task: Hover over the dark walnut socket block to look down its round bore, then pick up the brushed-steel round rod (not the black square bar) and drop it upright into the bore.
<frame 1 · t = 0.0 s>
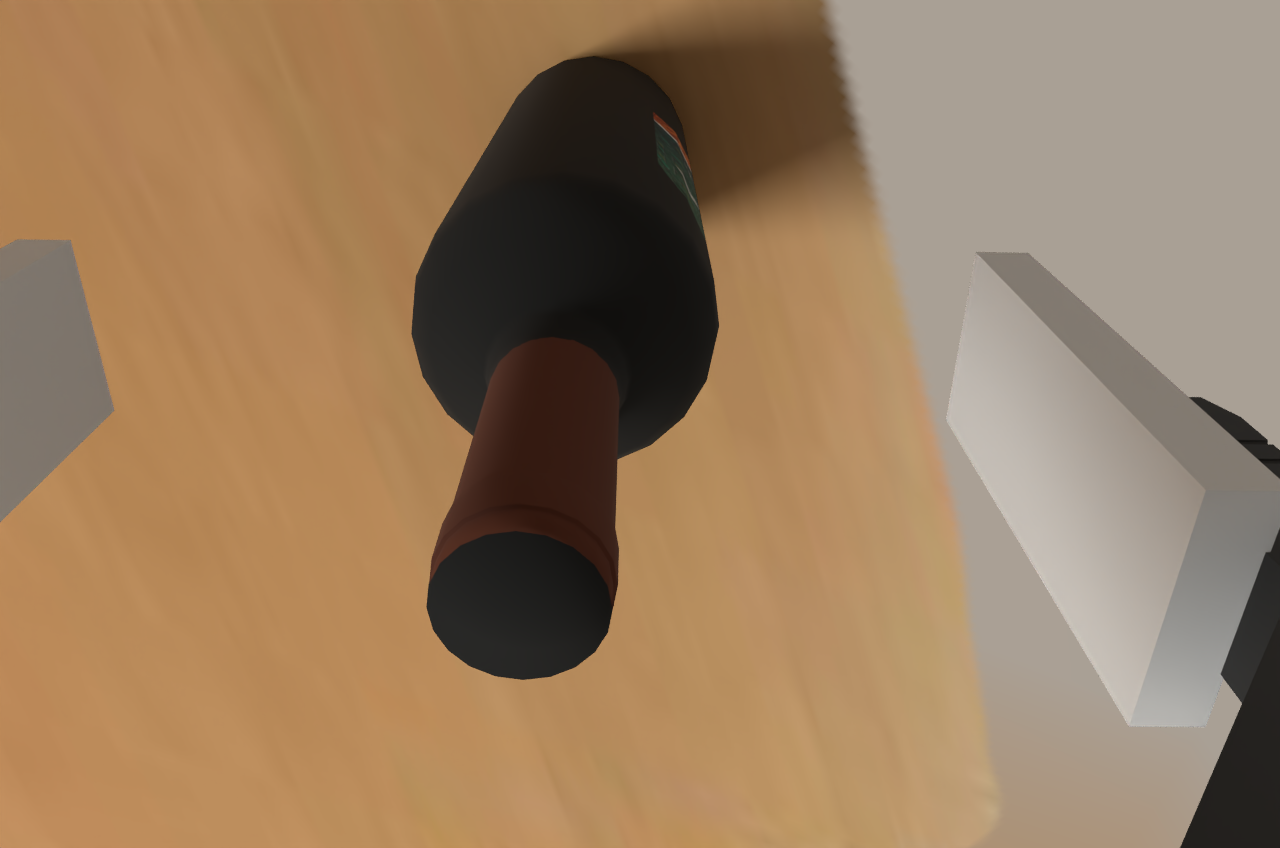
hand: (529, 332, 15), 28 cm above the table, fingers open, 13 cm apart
wine bottle: (594, 151, 42), on the table
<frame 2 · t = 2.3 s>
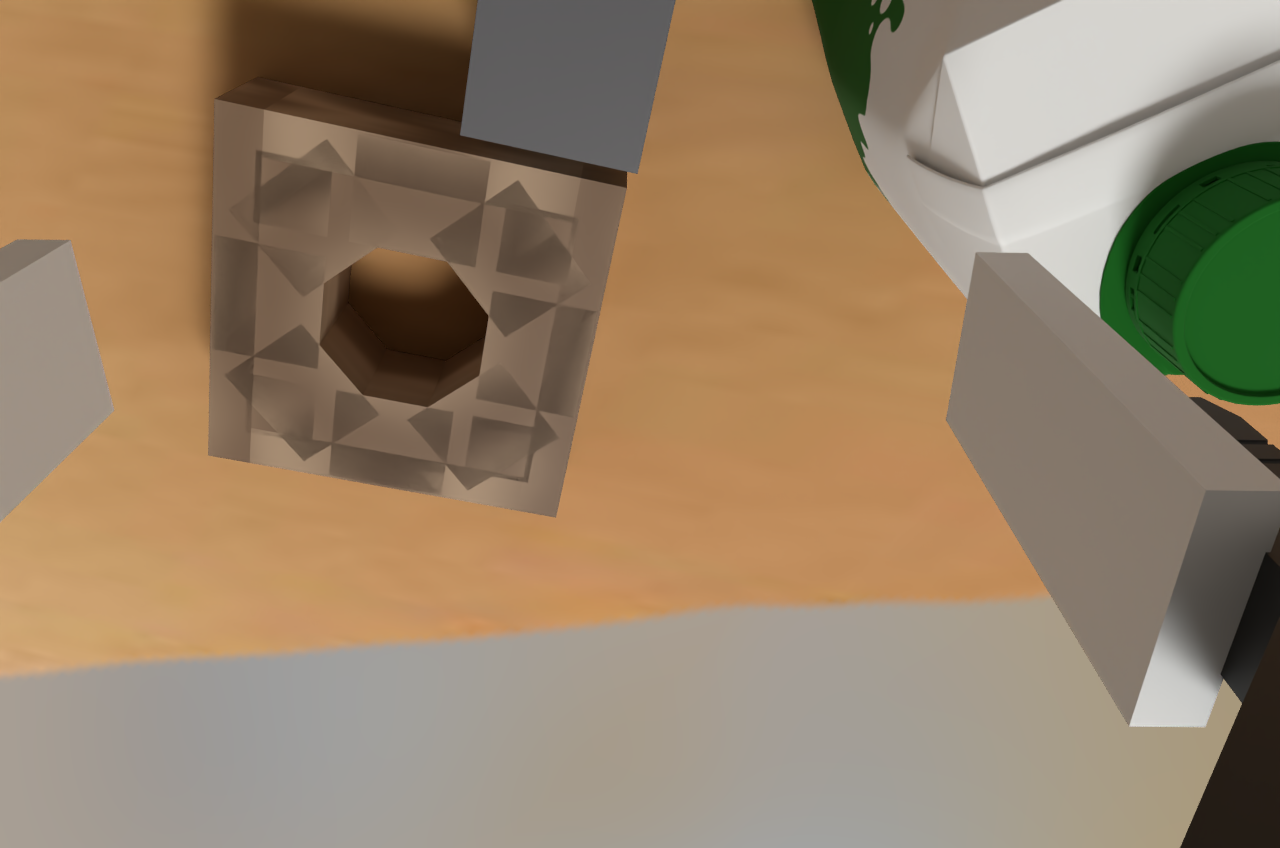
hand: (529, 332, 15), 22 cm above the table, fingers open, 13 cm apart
socket block: (424, 289, 38), on the table
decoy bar: (579, 25, 34), on the table
milk carton: (937, 32, 34), on the table
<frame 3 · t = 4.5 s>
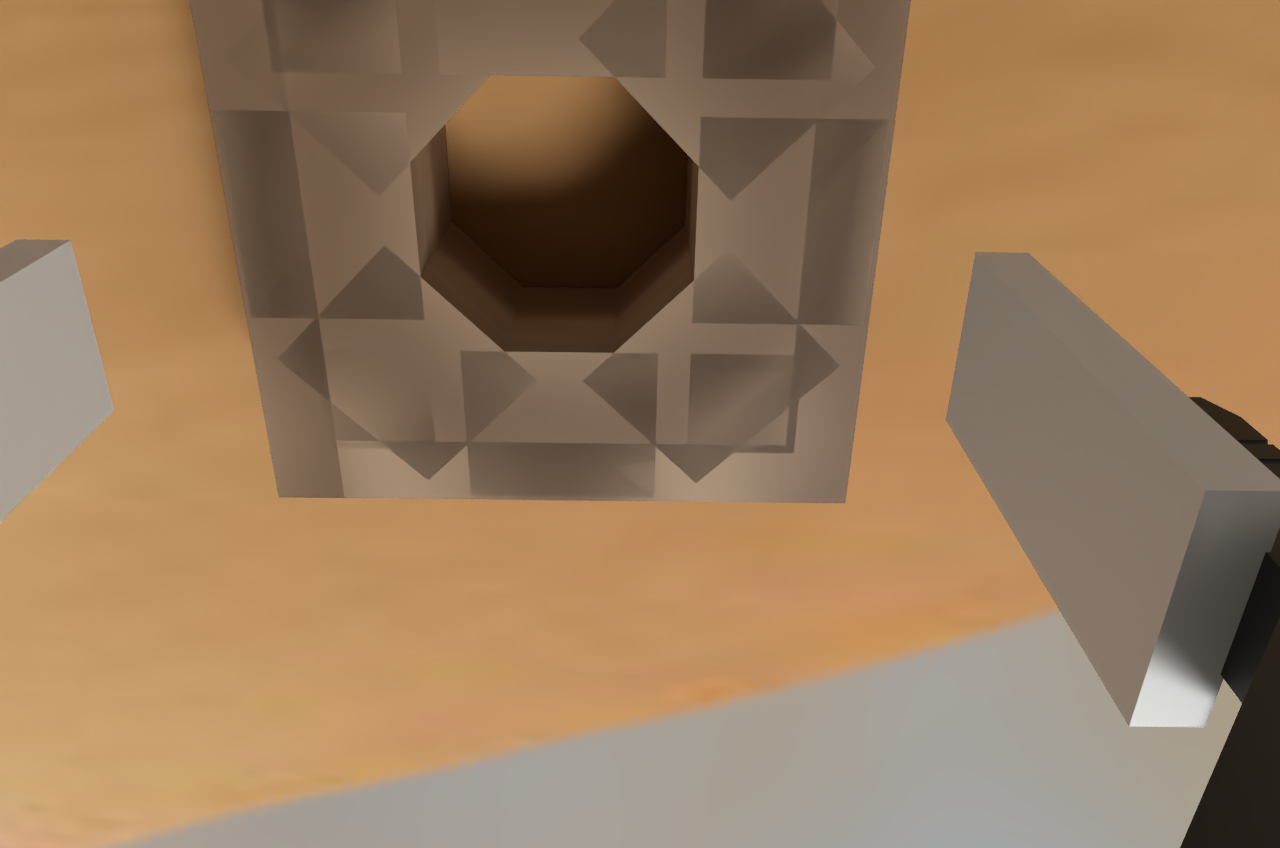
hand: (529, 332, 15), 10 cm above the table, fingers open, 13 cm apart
socket block: (568, 174, 23), on the table
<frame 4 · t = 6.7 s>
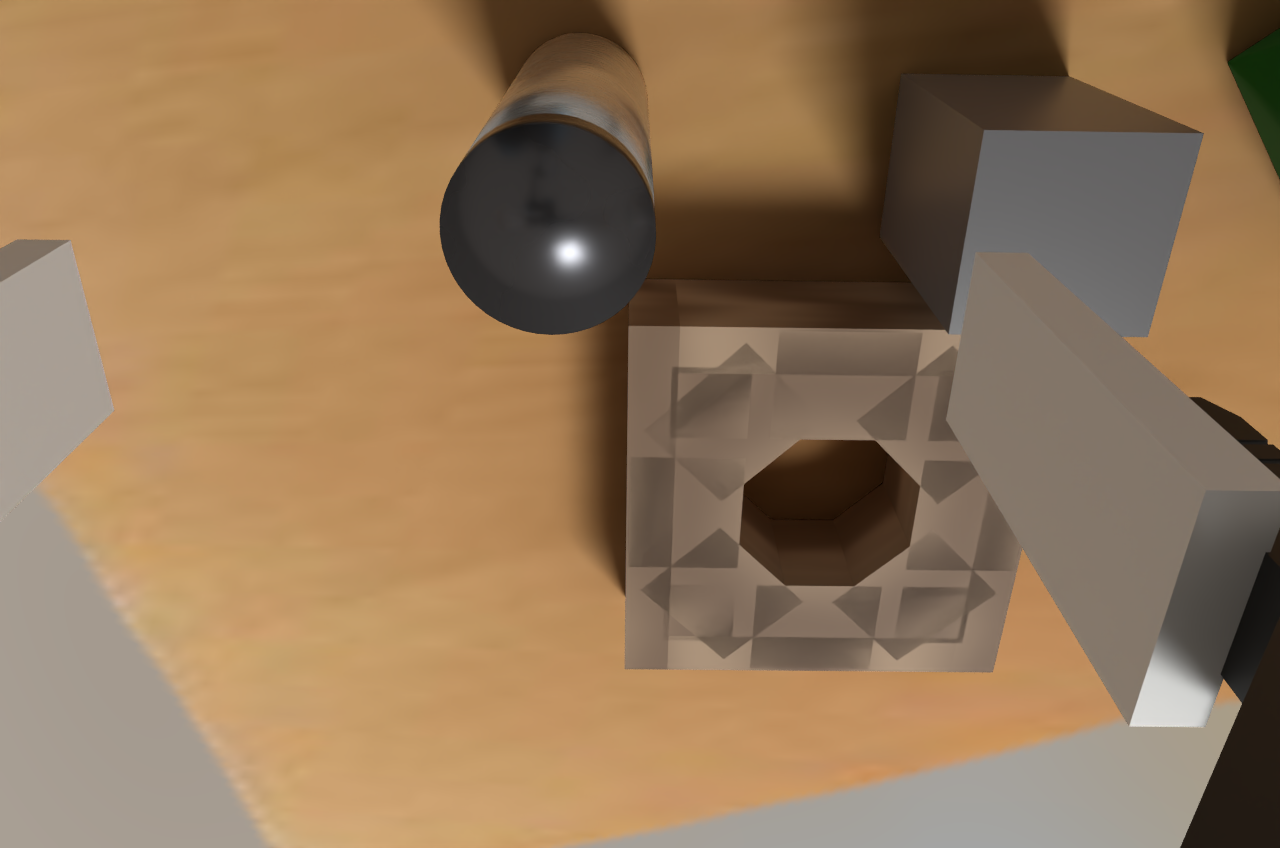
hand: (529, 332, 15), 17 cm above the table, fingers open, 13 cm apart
socket block: (809, 454, 36), on the table
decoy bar: (970, 159, 31), on the table
rod: (581, 103, 30), on the table
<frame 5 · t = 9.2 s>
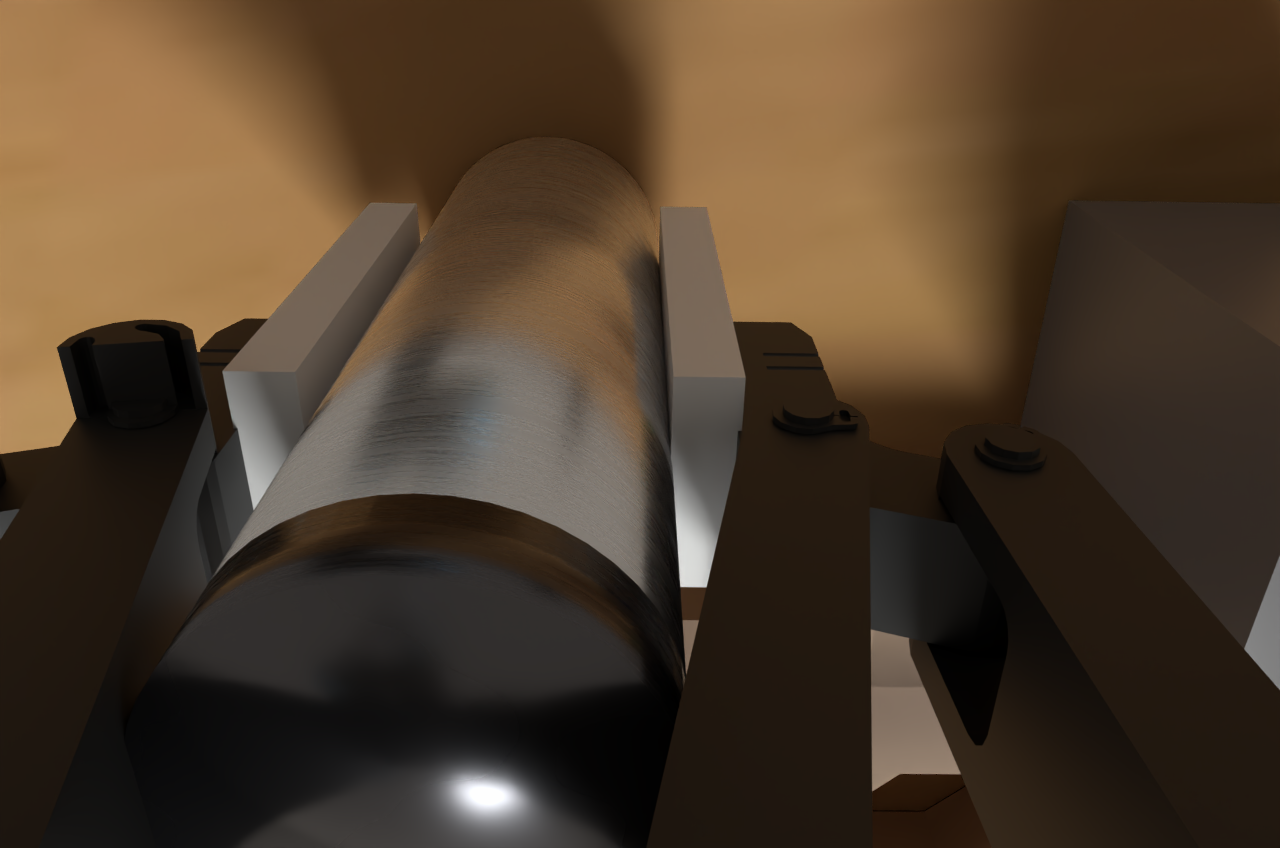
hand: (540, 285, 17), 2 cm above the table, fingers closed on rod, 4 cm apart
socket block: (893, 730, 24), on the table
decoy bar: (1168, 328, 19), on the table
rod: (550, 246, 19), on the table, touching gripper
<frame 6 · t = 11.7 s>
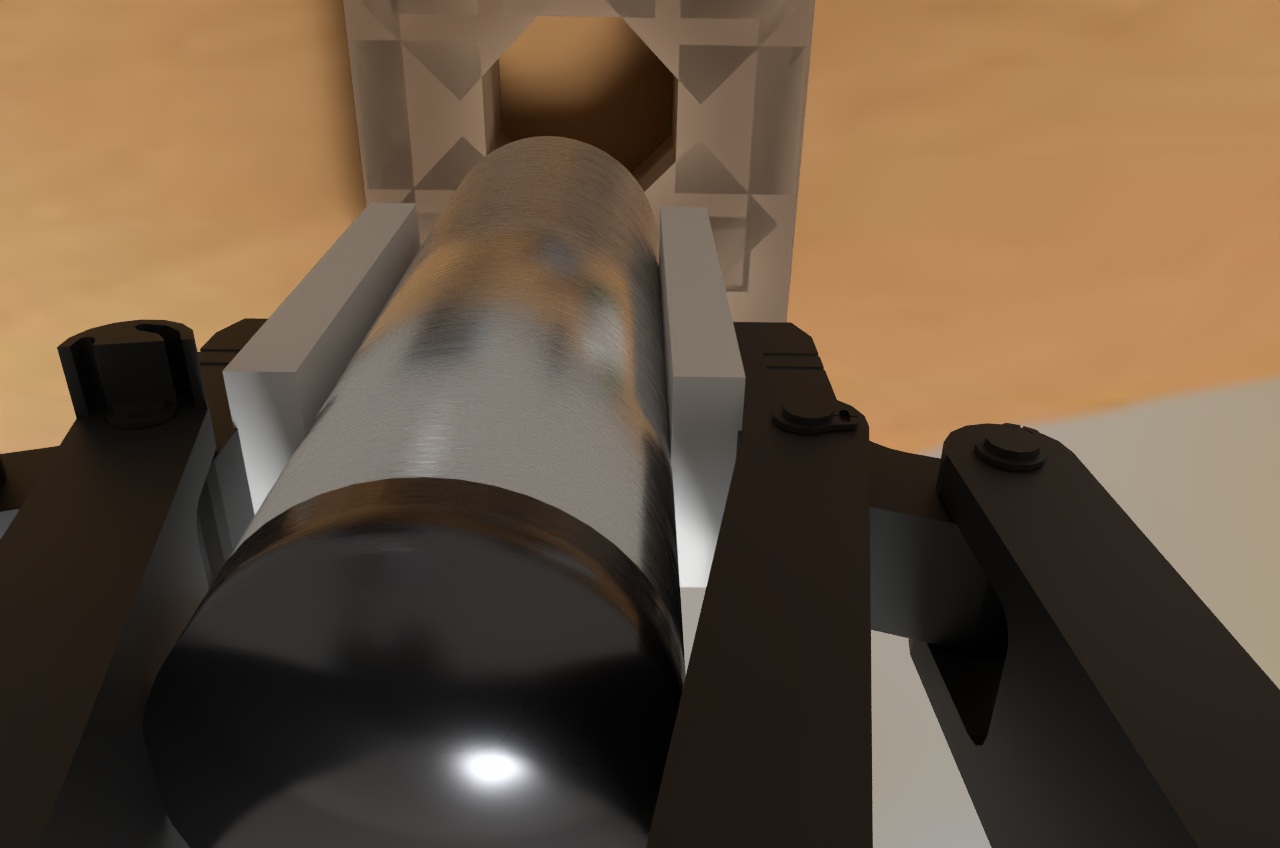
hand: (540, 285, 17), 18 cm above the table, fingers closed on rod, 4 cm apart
socket block: (586, 96, 33), on the table
rod: (552, 243, 19), point 15 cm above the table, touching gripper
when the fingers open (5 cm above the table, at t = 14.6 s): rod drops 2 cm, resting in socket block.
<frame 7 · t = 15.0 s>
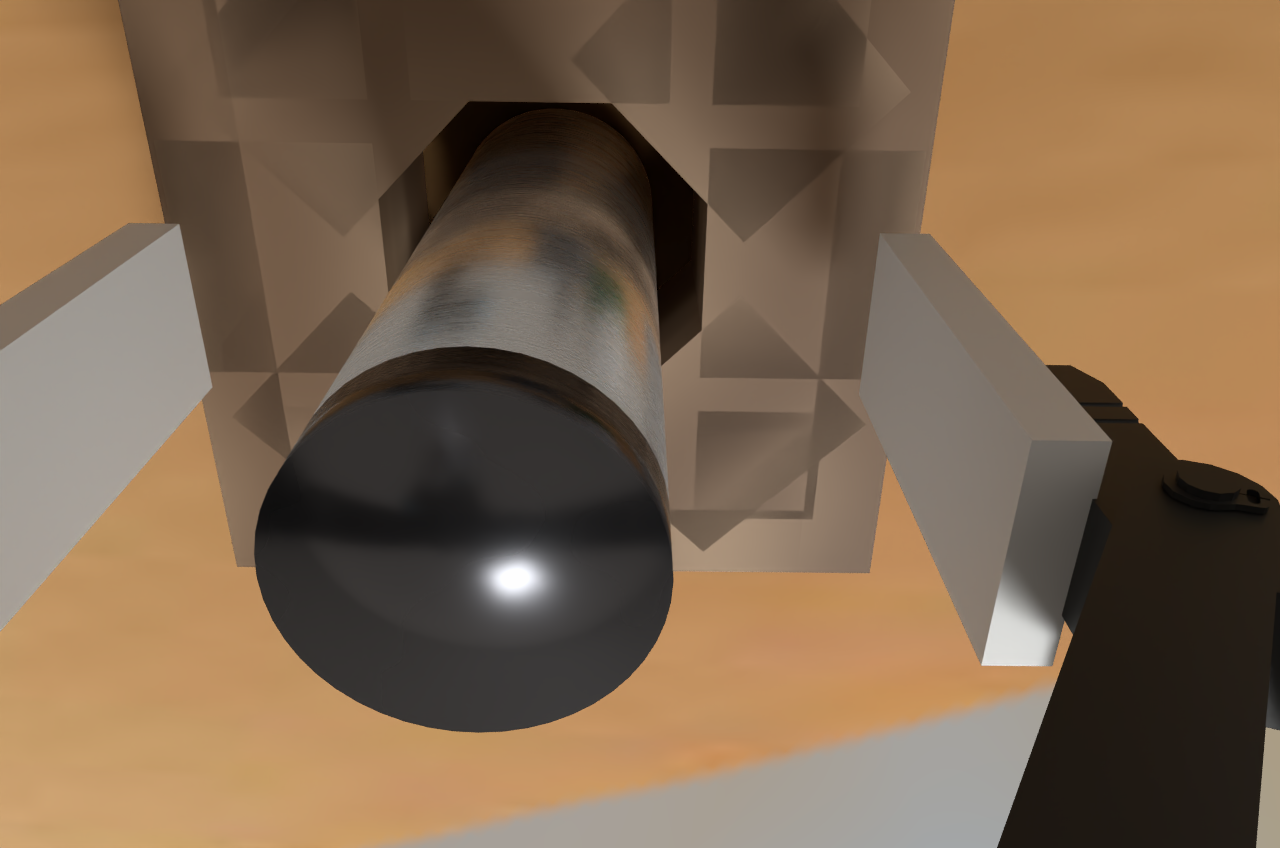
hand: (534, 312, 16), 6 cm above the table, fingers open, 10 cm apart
socket block: (560, 205, 21), on the table
rod: (557, 205, 21), resting in socket block
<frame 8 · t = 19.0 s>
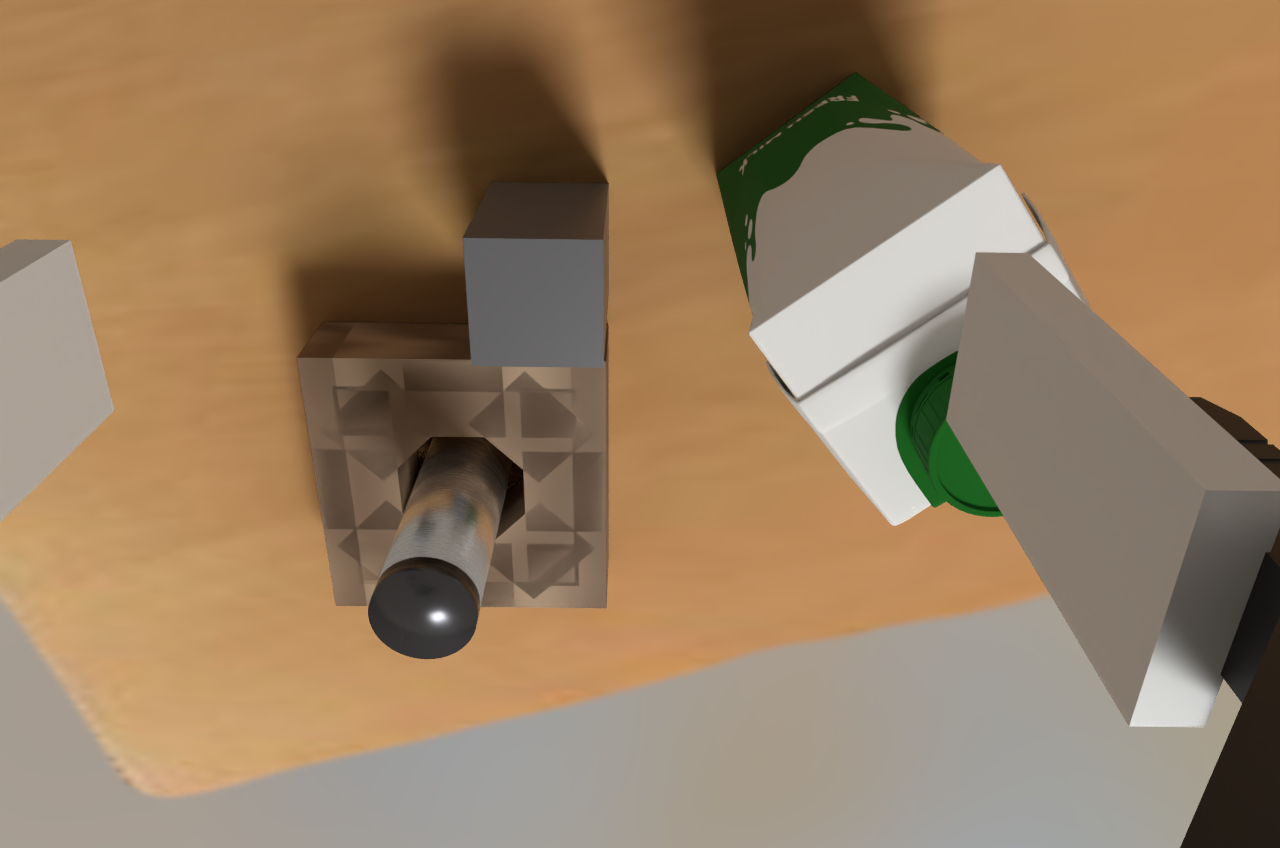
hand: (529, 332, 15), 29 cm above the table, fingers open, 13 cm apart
socket block: (474, 448, 49), on the table
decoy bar: (551, 239, 44), on the table
rod: (473, 448, 49), resting in socket block
milk carton: (827, 188, 43), on the table
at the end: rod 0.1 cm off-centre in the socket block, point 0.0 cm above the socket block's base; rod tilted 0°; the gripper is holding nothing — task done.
